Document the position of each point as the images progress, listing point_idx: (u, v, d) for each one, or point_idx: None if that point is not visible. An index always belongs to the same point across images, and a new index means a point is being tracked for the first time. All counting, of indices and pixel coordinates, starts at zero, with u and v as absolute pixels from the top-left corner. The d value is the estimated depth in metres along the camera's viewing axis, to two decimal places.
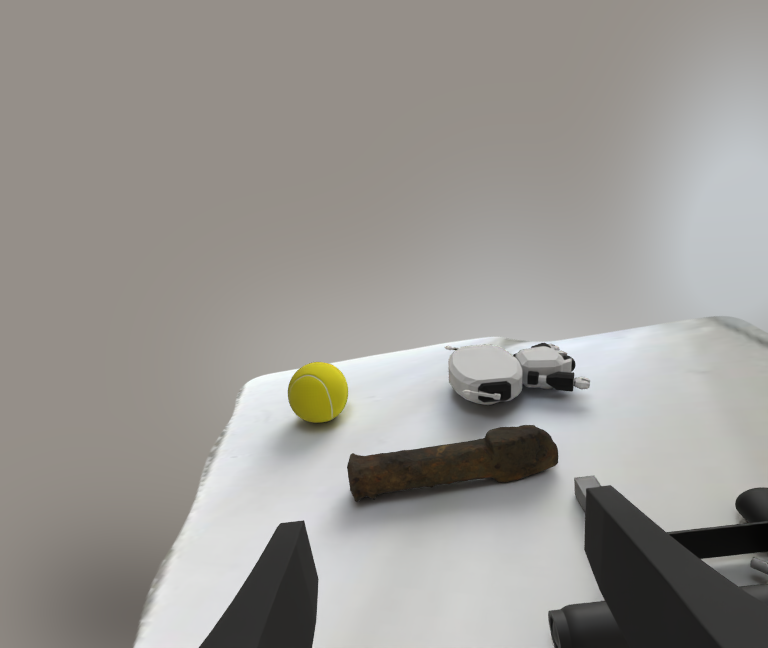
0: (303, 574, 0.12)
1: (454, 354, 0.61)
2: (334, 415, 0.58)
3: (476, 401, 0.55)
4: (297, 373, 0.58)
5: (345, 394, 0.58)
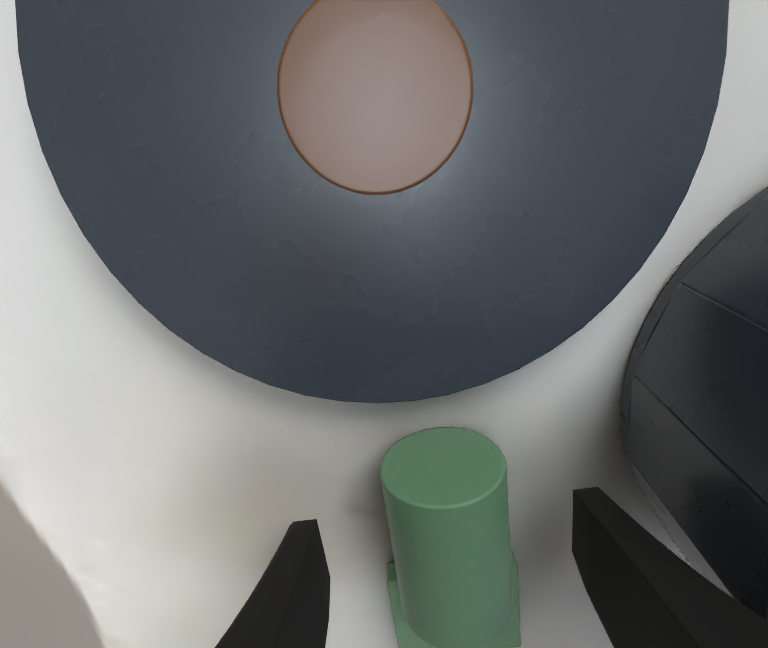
0: (316, 573, 0.12)
1: None
2: None
3: None
4: None
5: None
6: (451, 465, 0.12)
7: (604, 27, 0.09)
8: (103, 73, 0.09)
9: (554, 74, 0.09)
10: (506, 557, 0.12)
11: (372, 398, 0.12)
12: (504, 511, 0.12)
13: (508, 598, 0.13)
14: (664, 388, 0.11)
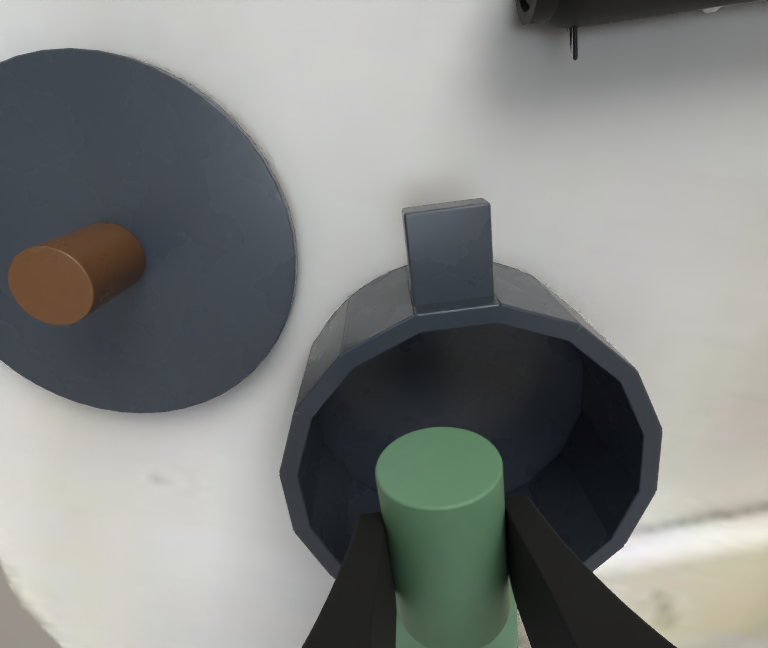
0: (388, 565, 0.12)
1: None
2: None
3: None
4: None
5: None
6: (447, 465, 0.12)
7: (223, 220, 0.17)
8: None
9: (202, 242, 0.18)
10: (503, 558, 0.12)
11: (139, 410, 0.20)
12: (501, 512, 0.11)
13: (505, 600, 0.12)
14: None
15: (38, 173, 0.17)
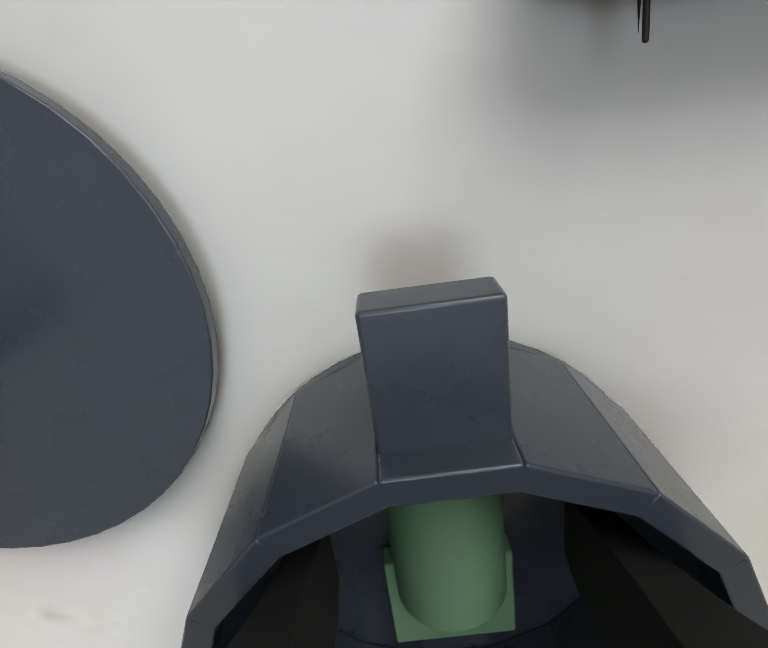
0: (326, 571, 0.12)
1: None
2: None
3: None
4: None
5: None
6: None
7: (98, 291, 0.11)
8: None
9: (70, 322, 0.12)
10: (500, 539, 0.12)
11: (6, 545, 0.14)
12: None
13: (502, 579, 0.13)
14: None
15: None
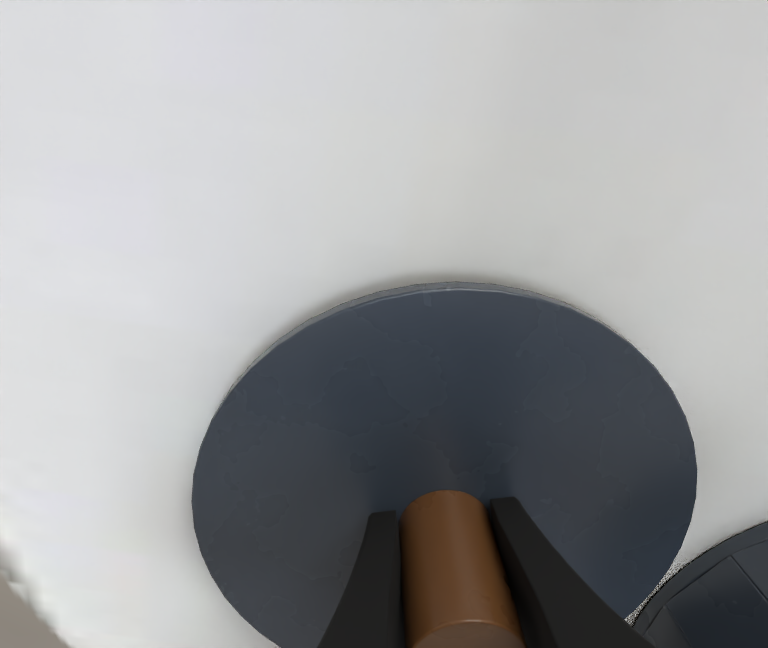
0: (400, 563, 0.12)
1: None
2: None
3: None
4: None
5: None
6: None
7: (608, 485, 0.13)
8: (251, 512, 0.13)
9: (572, 509, 0.13)
10: None
11: None
12: None
13: None
14: None
15: (372, 436, 0.12)
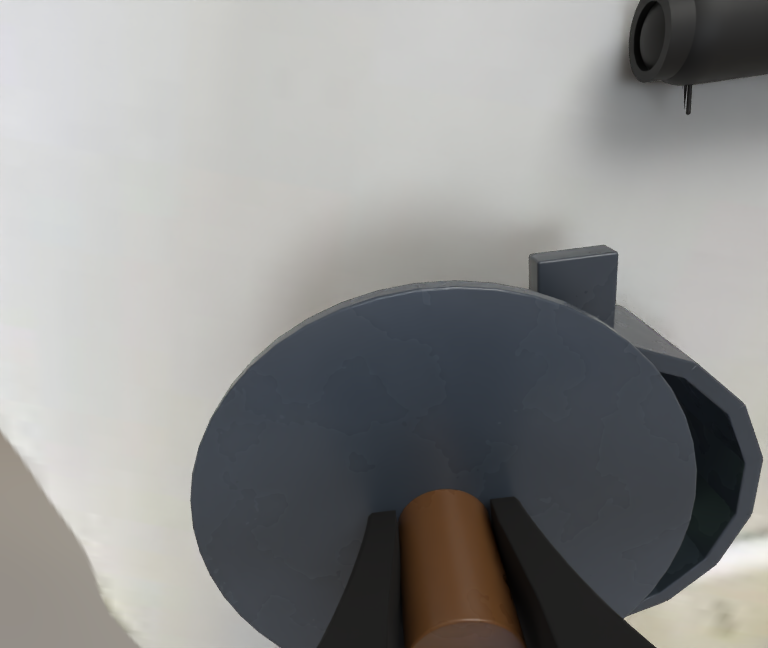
0: None
1: None
2: None
3: None
4: None
5: None
6: None
7: (608, 484, 0.13)
8: (250, 512, 0.13)
9: (571, 508, 0.13)
10: None
11: None
12: None
13: None
14: None
15: (371, 435, 0.12)
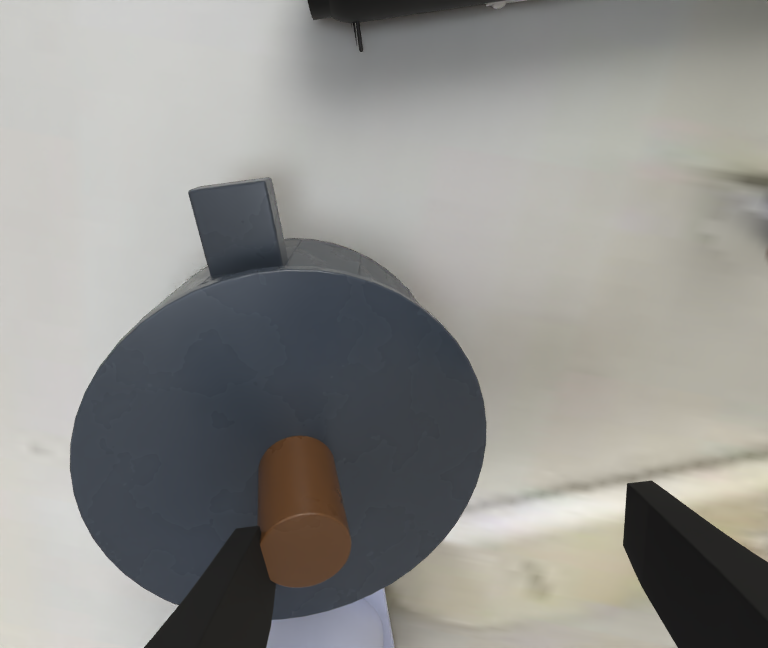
0: (256, 579, 0.12)
1: None
2: None
3: None
4: None
5: None
6: None
7: (421, 420, 0.17)
8: (126, 473, 0.15)
9: (397, 442, 0.17)
10: None
11: (302, 614, 0.18)
12: None
13: None
14: None
15: (229, 395, 0.15)
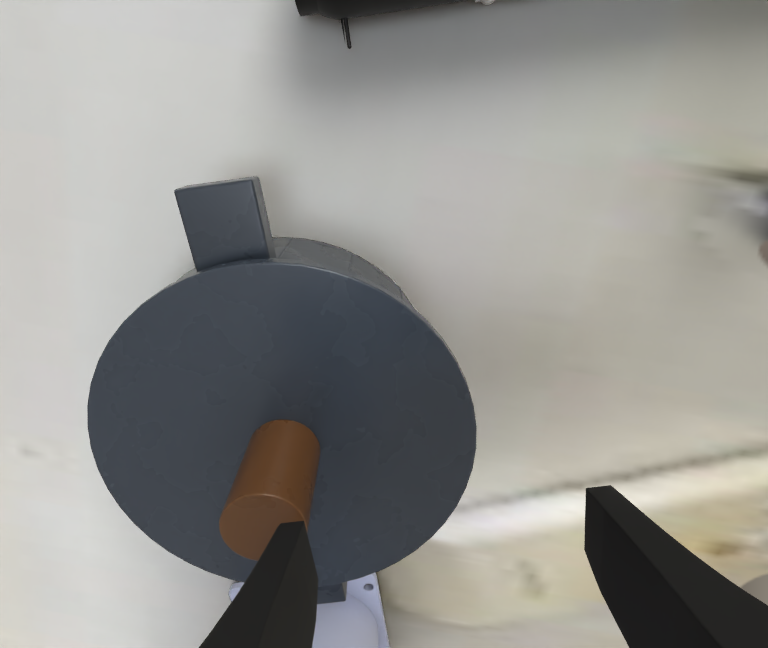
0: (303, 574, 0.12)
1: None
2: None
3: None
4: None
5: None
6: None
7: (407, 417, 0.17)
8: (134, 436, 0.17)
9: (382, 437, 0.17)
10: None
11: None
12: None
13: None
14: None
15: (220, 375, 0.16)
